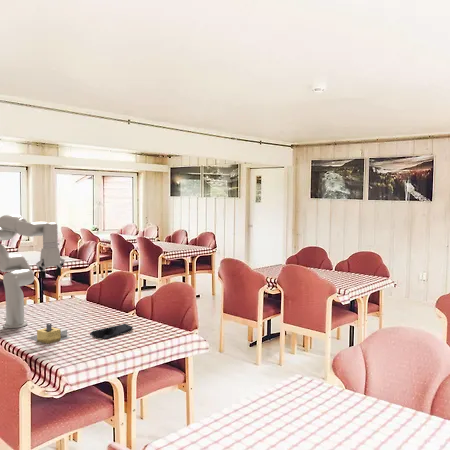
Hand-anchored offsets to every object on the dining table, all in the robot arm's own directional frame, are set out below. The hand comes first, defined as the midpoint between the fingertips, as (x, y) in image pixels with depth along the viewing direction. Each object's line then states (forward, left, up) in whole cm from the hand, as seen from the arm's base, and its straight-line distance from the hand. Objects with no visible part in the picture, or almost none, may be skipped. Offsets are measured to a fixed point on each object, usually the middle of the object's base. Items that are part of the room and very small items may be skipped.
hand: (51, 276), depth 263 cm
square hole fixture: (+12, -11, -30) cm, 34 cm away
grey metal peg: (+15, -13, -29) cm, 35 cm away
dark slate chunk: (+28, +17, -31) cm, 45 cm away
